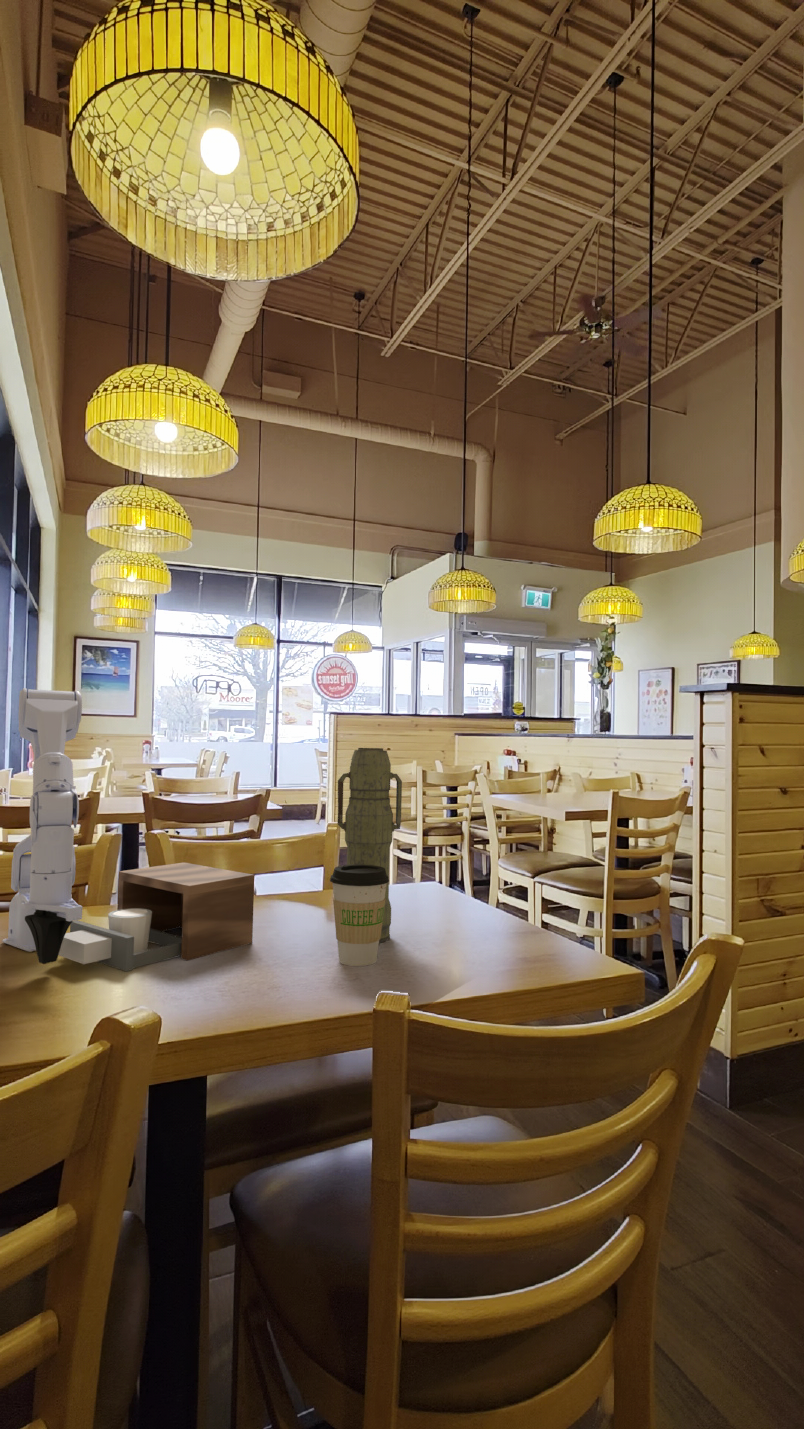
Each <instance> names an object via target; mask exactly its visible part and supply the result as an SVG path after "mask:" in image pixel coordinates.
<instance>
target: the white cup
mask: <svg viewBox="0 0 804 1429" xmlns="http://www.w3.org/2000/svg"><path fill="white" fill-rule="evenodd" d="M107 917H108V929H109V930H113V931H116V932H120V933H123V934H127V935H130V936H133V937H134V953H137V952H141V951H145V950H148V947H149V933H150V925H151V917H152V911H151V910H148V909H140V908H131V909H121V910H117V909H116V910H113V911H110V912H108V914H107Z"/></svg>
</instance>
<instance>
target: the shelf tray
mask: <svg viewBox="0 0 804 1429" xmlns="http://www.w3.org/2000/svg"><path fill="white" fill-rule="evenodd" d="M148 943H153V944H157V945H160V946H159V947H154V948H151V949H147V950H145V951H141V952H137V953H134V937H133V936H130V935H127V934H123V933H120V932H116V931H113V930H109V928H105V927H102V926H99V925H95V924H93V923H88V922H85V921H82V920H74V921H72V923H71V924H70V926H69V932H66V934H65V936H64V938H63V941H62V944H61V948H60V951H59V954H58V957H62V958H65V959H67V960H71V961H74V962H76V963H80V964H81V965H87V964H90V963H91V964H92V963H95V962H97V963H100V964H103V965H106V966H109V967H112V968H115V969H118V970H121V971H124V972H128V971H132V970H134V969H136V968H138V967H142V966H146V965H150V964H153V963H158V962H162V961H166V960H169V959H173V958H176V957H181V949H182V936H179V935H176V934H173V933H168V932H165V931H158V930H155V929H151V928H150V933H149V941H148Z"/></svg>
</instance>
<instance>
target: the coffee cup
mask: <svg viewBox="0 0 804 1429" xmlns="http://www.w3.org/2000/svg"><path fill="white" fill-rule="evenodd" d="M329 881H330V882H331V883H332V892H333V897H332V901H333V903H332V905H333V914H334V926H335V936H336V938H335V939H336V940H337V950H338V951H337V953H338V961H339V963H340V964H342V965H345V966H349V967H350V966H351V967H352V966H353V967H365V966H371V965H373V964H375V963H376V962H377V959H378V951H379V944H380V943H379V940H380V937H381V929H382V922H383V914H384V907H385V899H386V898H385V891H386V884H387V883H388V882H389V883H390V876H389V877H388V876H387V874H386V870H385V868H383V867H380V866H374V865H347V864H344V865H340V866H335V867H334V868H333V872H332V874H331V875H330V879H329Z"/></svg>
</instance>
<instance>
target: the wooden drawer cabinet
mask: <svg viewBox="0 0 804 1429" xmlns="http://www.w3.org/2000/svg"><path fill="white" fill-rule="evenodd" d="M117 879H118V881H117V882H118V883H117V885H118V886H117V909H116V910H121V909H131V908H140V909H148V910H151V911H152V917H151V925H150V928H151V929H155V930H158V931H162V932H165V931H170V930H175V929H179V928H181V937H182V949H181V956H180V959H181V960H183V961H190V960H194V959H198V958H202V957H205V956H210V955H213V954H216V953H221V952H224V951H228V950H231V949H235V948H239V947H243V946H246V945H250V944H253V938H254V937H253V933H254V932H253V931H254V928H253V927H254V903H255V902H254V896H255V895H254V894H255V874H251V873H247V872H246V873H245V872H240V871H236V870H230V869H223V868H217V867H211V866H205V865H201V864H195V863H190V862H179V863H178V862H177V863H171V864H170V863H169V864H163V865H156V866H148V867H142V868H134V869H127V870H121V871H118V878H117Z"/></svg>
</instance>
